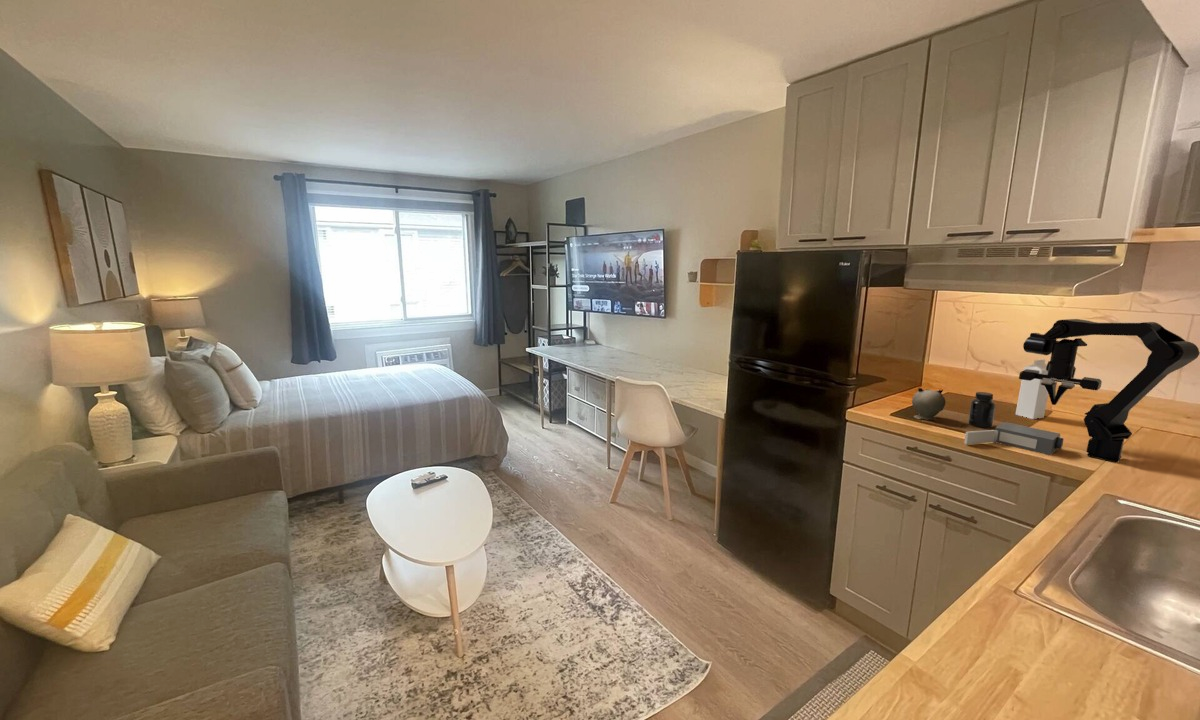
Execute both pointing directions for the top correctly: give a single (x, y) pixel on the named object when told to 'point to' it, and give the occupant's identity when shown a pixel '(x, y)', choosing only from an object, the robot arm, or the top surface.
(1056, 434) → the grey rectangular box
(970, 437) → the side door
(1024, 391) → the milk
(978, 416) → the supplement bottle
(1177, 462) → the top surface
